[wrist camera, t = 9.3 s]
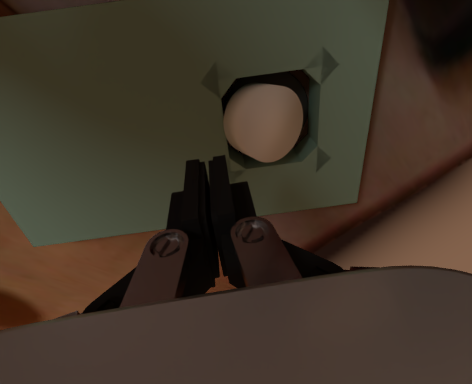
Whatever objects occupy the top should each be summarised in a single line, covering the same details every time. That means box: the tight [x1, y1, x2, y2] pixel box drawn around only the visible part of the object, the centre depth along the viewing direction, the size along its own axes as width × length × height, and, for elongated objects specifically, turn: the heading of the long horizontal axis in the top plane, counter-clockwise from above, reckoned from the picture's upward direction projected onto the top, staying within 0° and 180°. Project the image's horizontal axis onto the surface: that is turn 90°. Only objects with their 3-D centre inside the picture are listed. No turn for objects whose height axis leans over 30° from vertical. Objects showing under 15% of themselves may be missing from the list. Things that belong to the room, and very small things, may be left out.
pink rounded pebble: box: [223, 82, 303, 163], centre depth 19 cm, size 5×5×2 cm
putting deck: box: [0, 0, 389, 247], centre depth 20 cm, size 16×28×2 cm, turn 97°
